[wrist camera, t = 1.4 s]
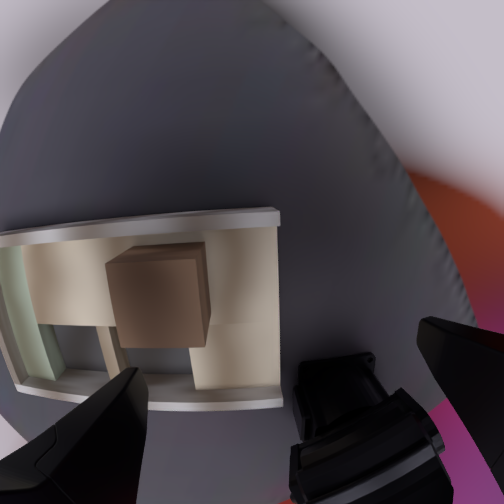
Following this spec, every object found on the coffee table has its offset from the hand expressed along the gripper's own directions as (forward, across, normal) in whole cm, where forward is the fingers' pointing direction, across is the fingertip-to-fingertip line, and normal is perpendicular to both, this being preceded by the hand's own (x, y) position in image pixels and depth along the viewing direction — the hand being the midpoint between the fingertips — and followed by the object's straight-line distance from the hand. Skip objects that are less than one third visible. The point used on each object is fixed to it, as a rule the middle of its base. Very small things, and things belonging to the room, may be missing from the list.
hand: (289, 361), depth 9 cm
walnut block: (+10, +5, +1) cm, 12 cm away
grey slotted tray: (+13, +10, +3) cm, 16 cm away
